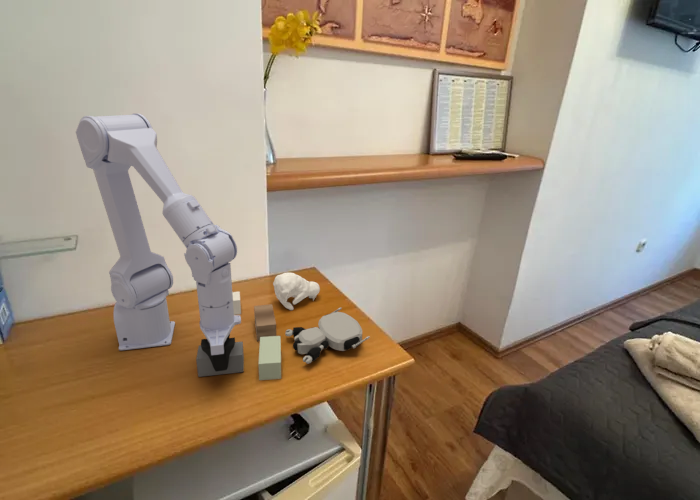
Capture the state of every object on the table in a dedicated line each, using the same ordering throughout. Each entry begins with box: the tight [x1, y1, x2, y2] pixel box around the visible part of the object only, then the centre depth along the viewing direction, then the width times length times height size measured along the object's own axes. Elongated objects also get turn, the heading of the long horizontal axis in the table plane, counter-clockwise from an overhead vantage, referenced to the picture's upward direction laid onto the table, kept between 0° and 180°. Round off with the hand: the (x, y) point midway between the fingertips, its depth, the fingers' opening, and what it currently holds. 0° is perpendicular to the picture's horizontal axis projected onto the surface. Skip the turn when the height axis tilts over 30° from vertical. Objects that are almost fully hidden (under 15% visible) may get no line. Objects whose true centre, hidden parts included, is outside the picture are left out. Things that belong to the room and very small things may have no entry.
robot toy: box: [284, 307, 371, 364], centre depth 81 cm, size 12×4×15 cm
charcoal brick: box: [195, 341, 245, 378], centre depth 73 cm, size 8×4×4 cm, turn 104°
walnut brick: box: [253, 303, 277, 342], centre depth 85 cm, size 8×4×4 cm, turn 16°
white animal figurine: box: [272, 272, 321, 311], centre depth 95 cm, size 6×8×12 cm
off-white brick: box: [232, 291, 242, 315], centre depth 90 cm, size 8×4×4 cm, turn 106°
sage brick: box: [258, 335, 282, 381], centre depth 75 cm, size 8×4×4 cm, turn 10°
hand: (221, 361), depth 73 cm, fingers closed on charcoal brick, 4 cm apart
